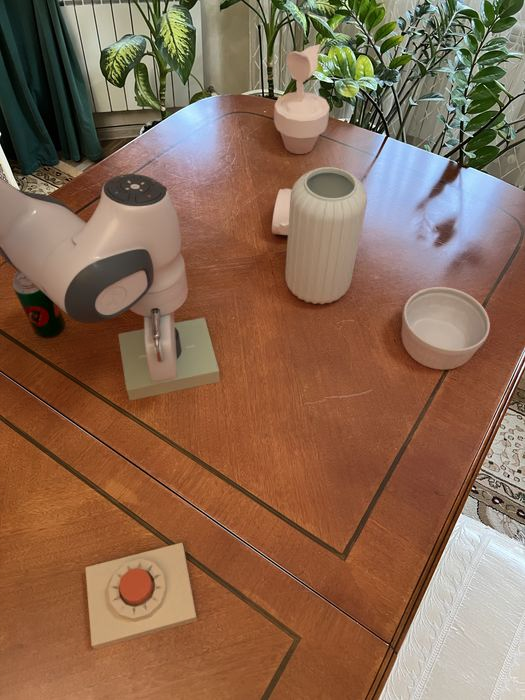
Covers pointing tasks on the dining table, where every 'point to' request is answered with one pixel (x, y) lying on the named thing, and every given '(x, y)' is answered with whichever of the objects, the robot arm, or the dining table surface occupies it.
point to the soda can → (38, 308)
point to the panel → (191, 365)
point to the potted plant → (301, 105)
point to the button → (136, 586)
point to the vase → (324, 234)
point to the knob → (178, 344)
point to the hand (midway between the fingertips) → (166, 347)
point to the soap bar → (281, 212)
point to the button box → (150, 616)
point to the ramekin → (443, 327)
